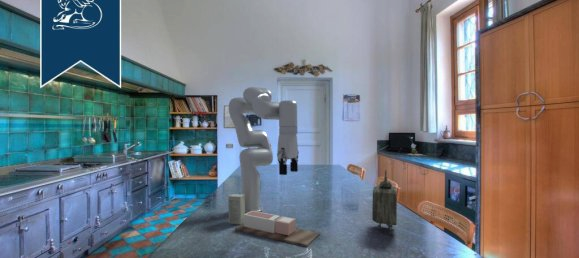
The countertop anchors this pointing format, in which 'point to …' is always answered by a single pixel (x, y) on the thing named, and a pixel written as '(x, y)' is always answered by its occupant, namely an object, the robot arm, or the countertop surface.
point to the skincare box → (236, 208)
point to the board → (296, 237)
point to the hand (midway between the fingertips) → (288, 173)
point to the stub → (285, 225)
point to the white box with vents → (260, 221)
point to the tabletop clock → (385, 204)
